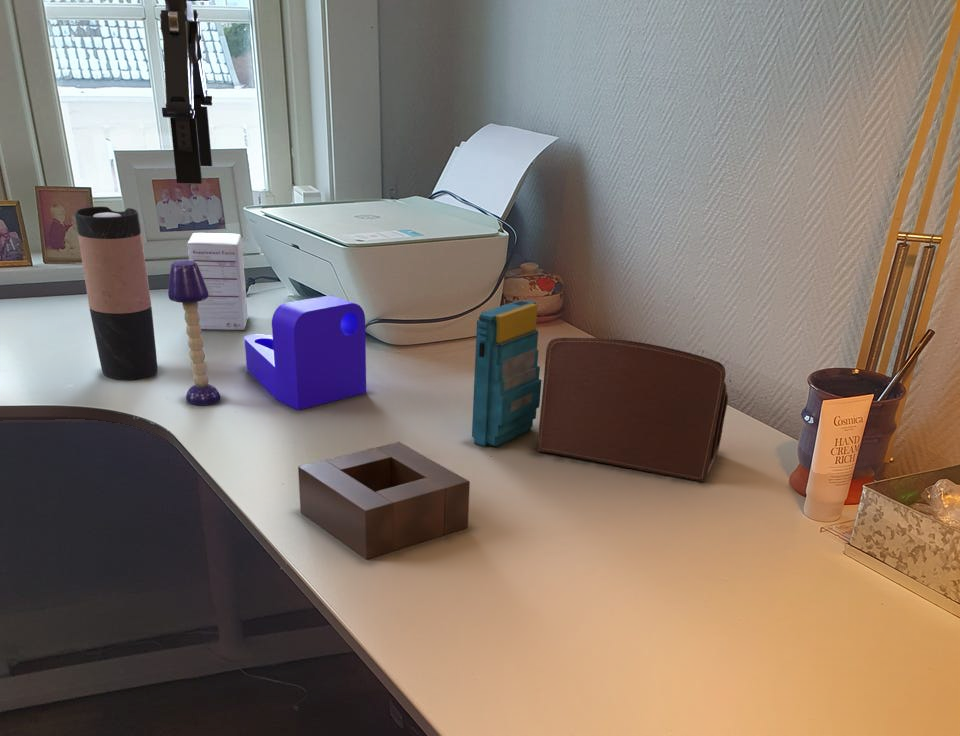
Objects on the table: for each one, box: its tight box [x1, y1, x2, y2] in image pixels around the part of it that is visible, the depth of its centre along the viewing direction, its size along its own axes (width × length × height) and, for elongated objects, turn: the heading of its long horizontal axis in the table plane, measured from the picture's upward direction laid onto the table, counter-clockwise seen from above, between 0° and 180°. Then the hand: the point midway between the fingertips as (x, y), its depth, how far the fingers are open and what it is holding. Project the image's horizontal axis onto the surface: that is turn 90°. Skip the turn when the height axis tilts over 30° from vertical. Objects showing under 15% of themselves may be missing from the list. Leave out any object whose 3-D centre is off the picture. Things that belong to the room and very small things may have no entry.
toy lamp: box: [167, 259, 222, 406], centre depth 120 cm, size 5×5×17 cm
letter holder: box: [536, 337, 729, 483], centre depth 112 cm, size 10×20×14 cm, turn 70°
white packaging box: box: [186, 232, 249, 331], centre depth 150 cm, size 7×7×13 cm
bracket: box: [243, 295, 367, 411], centre depth 128 cm, size 18×11×12 cm, turn 45°
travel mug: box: [74, 206, 159, 381], centre depth 127 cm, size 8×8×20 cm
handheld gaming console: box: [471, 299, 542, 448], centre depth 115 cm, size 10×4×15 cm, turn 145°
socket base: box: [297, 441, 471, 560], centre depth 97 cm, size 12×12×5 cm
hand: (195, 174), depth 117 cm, fingers open, 13 cm apart
